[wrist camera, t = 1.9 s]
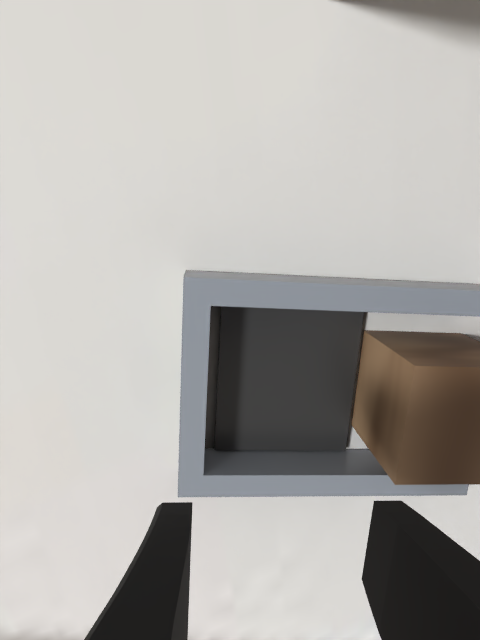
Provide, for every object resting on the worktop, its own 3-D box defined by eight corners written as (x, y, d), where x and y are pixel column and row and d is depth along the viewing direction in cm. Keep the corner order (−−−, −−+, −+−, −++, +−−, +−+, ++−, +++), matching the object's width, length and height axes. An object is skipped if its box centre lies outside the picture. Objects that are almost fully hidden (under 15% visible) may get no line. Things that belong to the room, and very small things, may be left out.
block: (459, 332, 18) (540, 368, 14) (442, 424, 19) (511, 483, 15) (363, 330, 18) (414, 365, 14) (350, 423, 19) (394, 484, 15)
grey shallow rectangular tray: (476, 284, 18) (510, 292, 16) (440, 468, 20) (466, 495, 18) (185, 270, 16) (183, 277, 15) (180, 468, 19) (177, 497, 17)
